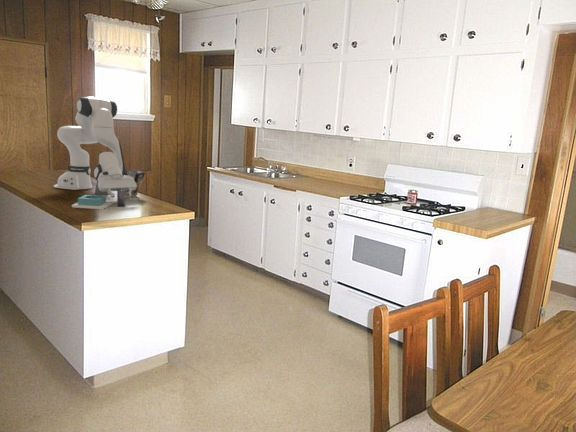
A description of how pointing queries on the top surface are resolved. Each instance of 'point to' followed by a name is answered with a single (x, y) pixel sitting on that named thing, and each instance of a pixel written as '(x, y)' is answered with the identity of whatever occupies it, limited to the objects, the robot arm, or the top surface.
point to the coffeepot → (99, 190)
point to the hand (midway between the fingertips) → (121, 196)
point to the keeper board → (92, 202)
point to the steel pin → (120, 197)
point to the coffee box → (137, 178)
